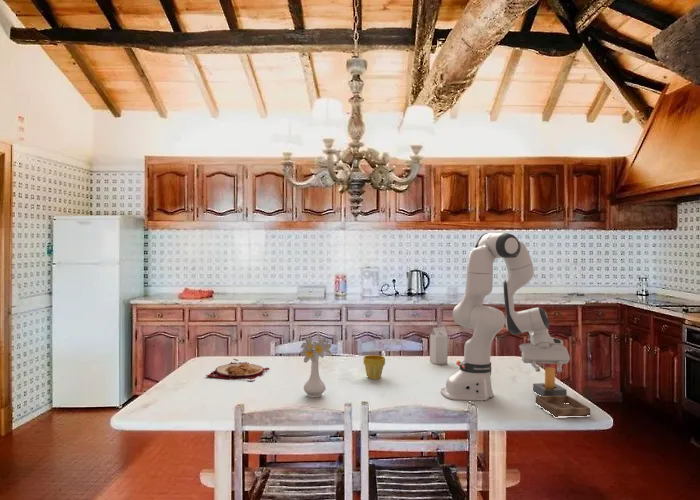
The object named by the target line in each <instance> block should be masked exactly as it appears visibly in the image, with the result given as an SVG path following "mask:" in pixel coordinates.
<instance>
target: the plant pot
mask: <svg viewBox="0 0 700 500" xmlns="http://www.w3.org/2000/svg"><path fill="white" fill-rule="evenodd" d="M363 365H364V366H365V372H366V373H365V374H366V377H367V376H368V377H369V378H368V377H367V378H368V379H372V380H378V379H381V377H382V373H383V370H384V366H385V365H386V357H385V356H383V355H379V354H378V355H376V354H368V355H367V354H366V355H364V356H363Z"/></svg>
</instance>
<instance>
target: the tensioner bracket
mask: <svg viewBox="0 0 700 500" xmlns="http://www.w3.org/2000/svg"><path fill="white" fill-rule="evenodd" d="M533 391H534V392H536V393H537V394H539V395H541V396H566V395H567V394H568V393H567V391H568V390H567V389H566V388H565V387H562V386H561V385H559V384H557V383H555V388H545V382H541V383H537V382H536V383H533V384H532V392H533Z"/></svg>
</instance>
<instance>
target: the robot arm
mask: <svg viewBox="0 0 700 500" xmlns="http://www.w3.org/2000/svg"><path fill="white" fill-rule="evenodd" d="M467 258H468V259H467V266H466V280H465V281H466V283H465V290H464V294H463V297H462V298H461V300H460V302H459V303H458V304H457V305H455V307H454V308H453V310H452V320H453V322H454V323H455V324H457V325H459V326H460V327H463V328H464V329H465V328H467V329H471V330H473V334H472V337H471V338H469V339H467V340H466V341H465V342H464V349H463V350H464V354H463V357H464V358H463V359H464V360H463V361H462V362H461V361H460V360H457V361H456V365H457V366H459V369H458V370H457V371H456V372H454V373H453V374H451V375H450V376H449V377H448V378H447V379H446V382H445V387H441V388H440V394H441V396H443V397H445V398H447V399H449V400H458V401H459V400H460V401H483V400H485V401H487V400H489V399H490V398H489V397H491V398H493V397H494V392H493V388H492V381H491V380H492V379H491V375H492V362H491V356H492V355H491V352H492V343H493V340H494V339H495V337H496V335H497V334H498V333H499V332H501V331H502V330H503V329H504V327H505V326H506V327H505V328H506V329H507V331H508V332H509V333H511V335H515V336H517V335H520V334H523V333H526V332H528V334H529V340H530V343H522V344H520V345H519V352H521V361H522V362H523V363H524V364H531V366H532V367H533V369H534V370H535V372H541V368H540V366H538V365H537V364H549V365H551V364H552V365H554V364H557V365H558V366H557V368H556V371H557V373H562V372H563V368H562V367H563V365H566V364H568V363H569V362H570V355H569V354H570V353H569V351H568V349H567V348H566V346H564V340H562V339H559V338H555V337H553V336H551V335H550V333H549V328H550V326H551V322H550V320H549V316H548V313H547V311H546V310H545V309H543V308H541V307H540V306H539V307H533V308H528V309H525V310H520V311H515V303H514V295H515V294H516V292H517V291H518V290H520V289H522V288H523V287H525V286H526V285H527V284H528V283H530V281H532V279H533V277H534V275H535V271H534V270H535V269H534V264H533V262H532V261H533V260H532V258H531V255H530V253H529V250H528V248H527V246H526V244H525V243H524V242H522V241H520V240H519V239H518V238H517V237H516V236H515V235H514V234H512V233H508V232H505V233H504V232H485V233H482V234H480V235H479V236H478V237H477V239H476V241H475V246H474V248H472V249H471V250H470V252H469V255H468V257H467ZM496 259H503V260H504V262H505V266H506V270H507V276H506V278H505V279H504V280H503V297H504V298H503V299H504V310H505V314H504V312H503V311H502V310H500V309H498V308H496V307H494V306H489V305H483V302H484V300H485V297H487V296H489V295H490V294H491V293H492V291H493V283H494V282H493V281H494V280H493V279H494V277H493V276H494V262H495V260H496ZM492 396H493V397H492ZM486 399H487V400H486Z"/></svg>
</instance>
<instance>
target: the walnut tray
mask: <svg viewBox="0 0 700 500" xmlns="http://www.w3.org/2000/svg"><path fill="white" fill-rule="evenodd" d="M534 403H537V404H538V405H540V406H541V407H543V408H544V409H545V410H547V411H549V412H550V413H551V414H553V415H554V416H555V417H558V416H587V415H590V416H591V408H590V407H588V406H587V405H585V404H583V403H582V402H580V401H578V400H576V399H575V398H572V397H571V396H569V395H566V396H538V395H535V402H534ZM564 403H565V404H564ZM566 403H569V404H566Z"/></svg>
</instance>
